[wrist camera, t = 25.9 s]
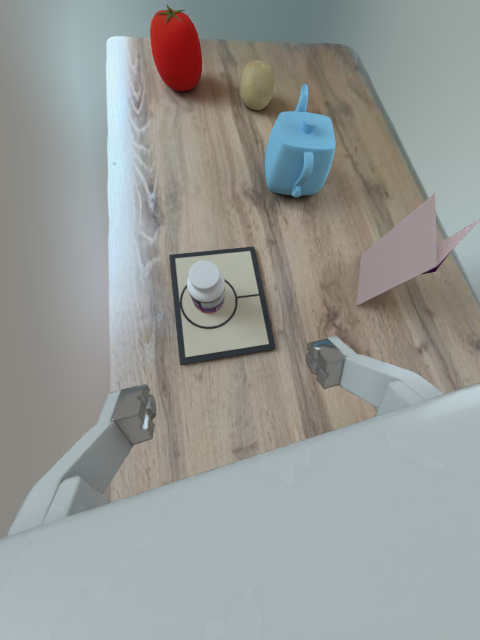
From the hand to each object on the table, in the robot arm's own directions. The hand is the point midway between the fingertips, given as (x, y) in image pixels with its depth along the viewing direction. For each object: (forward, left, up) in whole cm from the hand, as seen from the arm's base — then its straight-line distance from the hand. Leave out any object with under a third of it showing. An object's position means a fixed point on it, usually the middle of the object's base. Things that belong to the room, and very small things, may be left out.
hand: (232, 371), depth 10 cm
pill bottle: (-9, +8, -23) cm, 27 cm away
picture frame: (-8, +10, -24) cm, 27 cm away
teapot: (-12, +43, -25) cm, 51 cm away
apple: (-30, +57, -25) cm, 69 cm away
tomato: (-47, +50, -25) cm, 73 cm away
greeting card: (+13, +30, -25) cm, 41 cm away
